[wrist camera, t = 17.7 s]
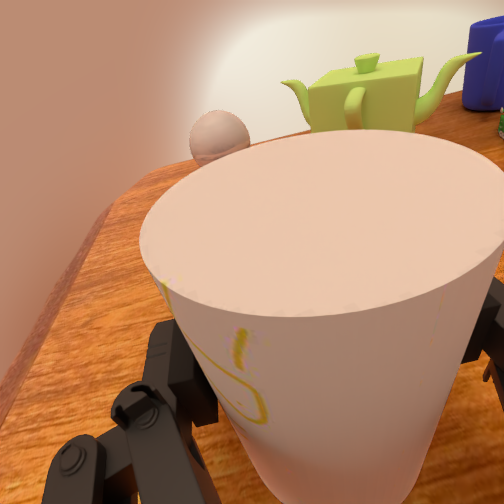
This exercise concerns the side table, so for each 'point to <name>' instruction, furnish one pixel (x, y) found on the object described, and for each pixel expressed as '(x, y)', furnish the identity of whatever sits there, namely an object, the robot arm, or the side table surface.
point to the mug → (485, 66)
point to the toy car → (501, 124)
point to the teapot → (374, 95)
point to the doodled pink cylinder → (331, 298)
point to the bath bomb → (217, 136)
